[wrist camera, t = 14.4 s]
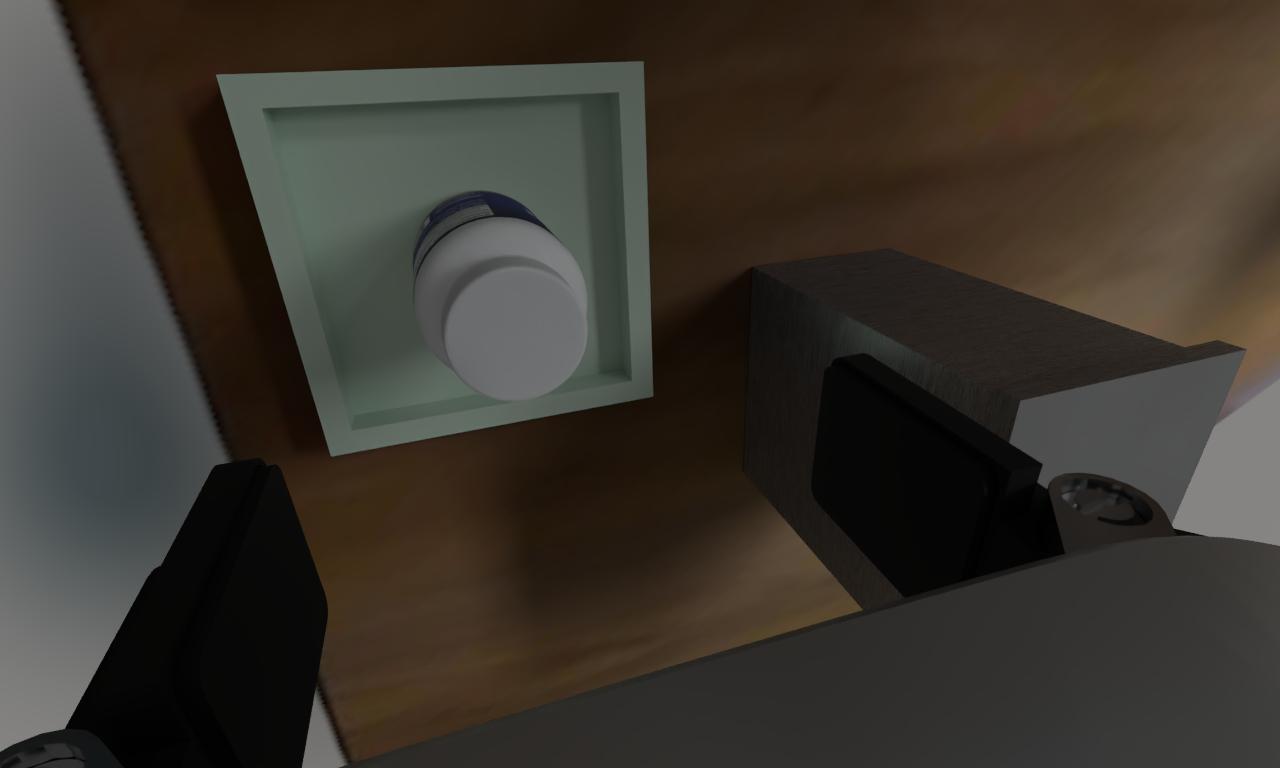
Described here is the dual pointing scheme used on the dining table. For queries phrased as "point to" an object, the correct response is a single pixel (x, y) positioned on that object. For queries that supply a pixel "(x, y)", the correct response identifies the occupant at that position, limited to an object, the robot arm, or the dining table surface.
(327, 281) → the tray
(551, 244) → the pill bottle
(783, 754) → the robot arm
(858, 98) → the dining table surface
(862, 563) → the metal box
